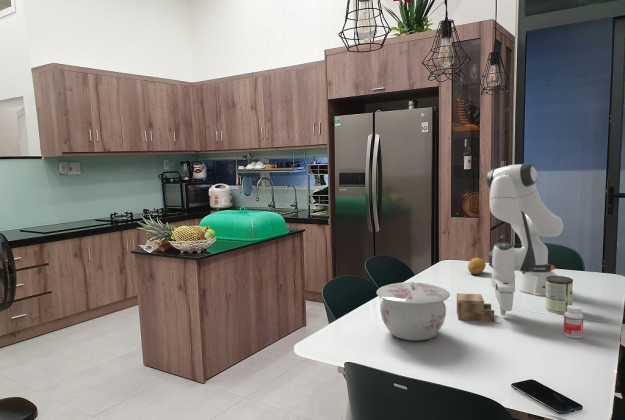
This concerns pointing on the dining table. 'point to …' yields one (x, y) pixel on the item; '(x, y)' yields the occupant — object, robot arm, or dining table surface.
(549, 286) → the coffee can
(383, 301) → the chamber pot
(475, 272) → the potato
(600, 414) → the dining table surface
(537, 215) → the robot arm
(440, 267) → the dining table surface
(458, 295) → the wooden stepped block
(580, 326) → the pill bottle
